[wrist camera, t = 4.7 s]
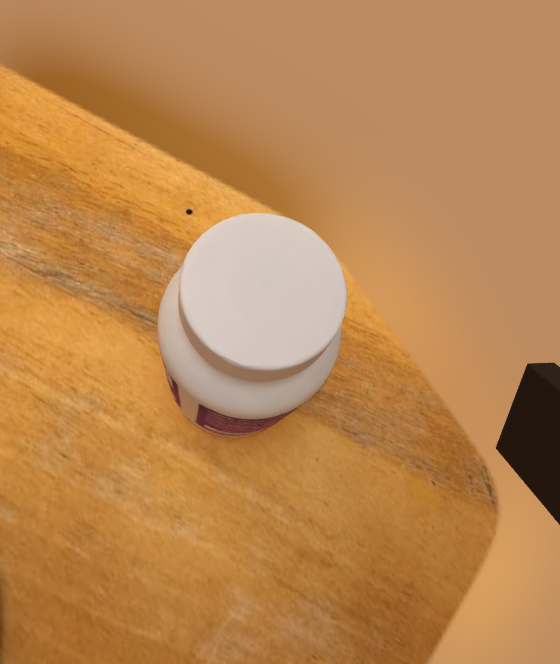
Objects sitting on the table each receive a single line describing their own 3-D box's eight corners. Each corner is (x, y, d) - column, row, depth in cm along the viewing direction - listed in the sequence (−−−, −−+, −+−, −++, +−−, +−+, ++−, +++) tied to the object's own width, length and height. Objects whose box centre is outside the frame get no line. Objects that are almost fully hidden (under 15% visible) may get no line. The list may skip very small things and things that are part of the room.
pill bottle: (318, 362, 21) (417, 273, 12) (247, 465, 19) (300, 454, 10) (219, 289, 21) (242, 147, 12) (140, 385, 19) (95, 302, 10)
